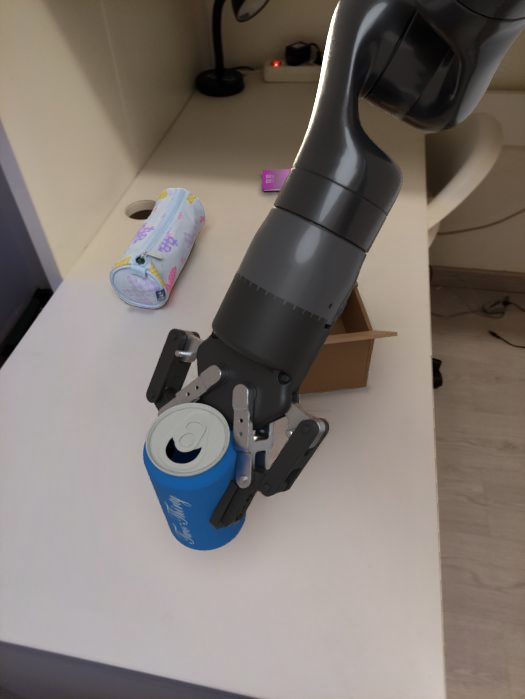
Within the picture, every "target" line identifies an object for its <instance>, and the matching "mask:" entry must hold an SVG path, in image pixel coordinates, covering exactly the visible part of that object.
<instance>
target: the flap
mask: <svg viewBox="0 0 525 699" xmlns="http://www.w3.org/2000/svg"><path fill="white" fill-rule="evenodd" d="M398 336H399V335H398V331H391V330H390V331H389V330H378V329H373V331H364V332H355V333H347V334H338V335H330V336H328V337H327V339H326V341H325V343H324V344H333V343H341V342H350V341H359V340H367V339H374V340H375V339H382V338H390V337H391V338H393V337H398Z"/></svg>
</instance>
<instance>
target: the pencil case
mask: <svg viewBox="0 0 525 699" xmlns="http://www.w3.org/2000/svg"><path fill="white" fill-rule="evenodd" d="M205 222H206V211H205V208H204V205H203V203H202V201H201V199H199V198H198V197H197V196H196V195H194V194H193V193H192V191H190V190H188V189H185V188H182V187H169V188H166V189H164V190H163V191H162V192H161V193H159V195H158V196H157V198H156V201H155V203H154V207H153V209H152V211H151V212H150V214H149V216H148V217H147V219H146V220H145V221H144V222H143V224H142V225H141V226H140V228H139V229H138V231H137V232H136V233H135V235H134V236H133V238H132V240H131V241H130V243H129V244H128V247H127V248H126V250H125V251H124V253H123V254H122V256H121V257H120V259H119V260H118V262H116V263H115V264H114V265H113V266H112V267H111V269H110V271H109V281H110V285H111V287H112V289H113V291H114V292H115V294H116V295H117V297H119V298H120V299H121V300H122V301H123V302H124V303H126V304H128V305H130V306H133V307H138V308H144V309H152V310H153V309H154V310H155V309H159V308H161V307H163V306H164V305H165V304H166V302H167V301H168V300H169V298H170V295H171V291H172V289H173V287H174V285H175V283H176V281H177V279H178V278H179V276H180V274H181V273H182V270H183V269H184V267H185V265H186V263H187V261H188V258H189V256H190V254H191V252H192V249H193V246H194V244H195V241H196V239H197V237H198V236H199V234H200V232H201V230H202V228H203V227H204V225H205Z"/></svg>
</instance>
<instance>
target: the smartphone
mask: <svg viewBox="0 0 525 699" xmlns="http://www.w3.org/2000/svg"><path fill="white" fill-rule="evenodd" d="M290 170H291V168H286V169H285V168H284V169H262V174H261V175H262V176H261V177H262V178H261V179H262V180H261V190H262V192H265V193H266V192H280V190H281V188H282V186H283V184H284V182H285V180H286V178H287V176H288V174H289V172H290Z"/></svg>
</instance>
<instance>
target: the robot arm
mask: <svg viewBox="0 0 525 699" xmlns="http://www.w3.org/2000/svg"><path fill="white" fill-rule="evenodd" d="M524 30H525V0H338V2H337V4H336V6H335V9H334V11H333V15H332V17H331V20H330V24H329V29H328V33H327V36H326V41H325V42H326V43H325V48H324V53H323V59H322V64H321V70H320V76H319V81H318V86H317V90H316V97H315V100H314V104H313V107H312V113H311V115H310V119H309V122H308V126H307V129H306V132H305V134H304V137H303V140H302V143H301V145H300V148H299V150H298V152H297V154H296V157H295V159H294V161H293V164H292V166H291V168H290V169H291V170H290V172H289V174H288V176H287V178H286V180H285V182H284V184H283V186H282V188H281V190H280V191H278V194H277V197H276V198H275V201H274V203H273V206H272V207H271V208H270V211H269V212H268V214H267V215H266V217H265V219H264V220H263V222H262V223H261V225H260V226H259V227H258V229H257V231H256V232H255V233H254V236H253V237H252V240H251V241H250V243H249V245H248V248H247V249H246V252H245V254H244V256H243V258H242V260H241V262H240V264H239V267H238V268H237V269H236V270H237V271H236V272H235V275H234V277H233V278H232V281H231V283H230V285H229V286H228V289H227V291H226V293H225V295H224V297H223V299H222V301H221V303H220V305H219V308H218V310H217V312H216V313H215V316H214V318H213V320H212V323H211V329H212V331H211V333H210V335H208V337H206V339H203V338H201V335H200V334H199V332H198V331H192V330H187V329H181V328H172V329H170V330H169V331H168V334H167V337H166V340H165V342H164V344H163V347H162V350H161V352H160V355H159V358H158V360H157V362H156V366H155V367H154V371H153V374H152V376H151V379H150V381H149V384H148V386H147V389H146V392H145V398H146V401H147V402H148V403H150V404H154V406H155V408H156V410H157V417H158V416H159V415H160V414H162V413H163V412H164V411H166V410H168V409H169V408H171V407H174V406H176V405H180V404H184V403H201V404H205V405H208V406H211V407H213V408H215V409H216V410H217V411H219V412H220V413H221V414H222V415H223V417H224V418H225V419H226V421H227V423H228V426H229V428H230V429H231V430H232V431H233V450H234V451H235V452H236V453H237V456H236V476H235V479H234V480H231V481H230V483H229V485H228V487H227V489H226V491H225V493H224V494H223V496H222V497H221V499H220V501H219V503H218V505H217V507H216V509H215V510H214V512H213V514H212V516H211V518H210V520H209V523H210V524H211V525H212V526H213V527H214V528H215V529H216V530H218V529H221V528H223V527H228V526H231V525H233V524H236V523H238V522H239V521H240V520H242V519H243V517H244V515H245V512H246V513H247V511H248V509H249V507H250V506H251V504H252V503H253V502H252V501H253V500H254V498H255V496H256V494H257V492H259V493H260V494H261V495H262V496H264V497H267V498H270V497H273V496H275V495H276V494H279V493H284V492H287V491H289V490H290V489H291V488H292V487H293V485H294V483H296V481H297V479H298V478H299V477H300V475H301V473H302V472H303V471H304V469H305V468H306V466H307V464H308V463H309V462H310V460H311V459H312V457H313V456H314V455H315V453H316V451H317V450H318V448H319V447H320V446H321V444H322V442H323V441H324V439H325V438H326V436H327V435H328V434H329V432H330V429H331V426H330V423H329V421H328V420H327V419H326V418H323V417H316V416H315V415H313V414H312V413H311V412H309V411H308V410H307V409H306V408H304V407H303V406H302V405H301V404H300V403H299V401H300V395H299V390H300V386H301V384H302V382H303V380H304V379H305V377H306V376H307V374H308V373H309V371H310V369H311V367H312V365H313V364H314V362H315V360H316V358H317V356H318V354H319V352H320V350H321V348H322V347H323V345H324V343H325V341H326V339H327V337H328V335H329V333H330V332H331V330H332V328H333V326H334V324H335V322H336V320H337V318H338V317H339V316H340V315H341V314H342V312H343V311H344V309H345V307H346V304H347V300H348V298H349V296H350V294H351V292H352V290H353V288H354V286H355V283H356V281H357V282H358V278H359V275H360V273H361V269H362V267H363V265H364V263H365V260H366V258H367V254H368V253H369V252H370V250H371V248H372V246H373V245H374V243H375V241H376V238H377V237H378V235H379V233H380V231H381V229H382V228H383V225H384V223H385V222H386V220H387V217H388V216H389V214H390V212H391V211H392V209H393V207H394V206H395V203H396V201H397V199H398V197H399V195H400V192H401V189H402V187H403V182H404V176H403V172H402V170H401V167H400V166H399V164H398V163H397V162H396V161H395V160H394V159H393V157H391V156H390V154H388V153H387V152H386V151H385V149H383V148H382V147H381V146H380V145H378V143H377V142H376V141H375V140H373V139H372V137H371V136H369V134H368V132H367V131H366V129H365V128H364V126H363V124H362V121H361V118H360V110H359V100H362V101H363V102H364V103H366V104H368V105H370V106H371V107H373V108H375V109H377V110H379V111H381V112H382V113H384V114H386V115H387V116H390V117H391V118H393V119H394V120H397V121H398V122H400V123H402V124H403V125H405V126H406V127H409V128H411V129H412V130H415V131H418V132H420V133H424V134H439V133H444V132H447V131H451V130H453V129H454V128H457V127H459V125H461V124H462V123H464V122H465V121H466V120H467V119H468V118H469V117H470V116H471V114H472V113H473V112H474V111H475V110H476V108H477V106H478V105H479V103H480V102H481V101H482V99H483V97H484V95H485V94H486V92H487V90H488V88H489V87H490V84H491V82H492V80H493V79H494V77H495V74H496V72H497V70H498V68H499V67H500V65H501V63H502V61H503V59H504V57H505V56H506V54H507V53H508V51H509V50H510V48H511V47H512V45H513V44H514V43H515V41H516V40H517V39H518V38H519V36H520V35H521V33H522V32H523V31H524ZM195 361H196V366H197V367H196V369H197V377H195V379H193V380H192V381H191V382H189V383H188V384H187V385H185V386H184V384H185V381H186V380H187V376H188V373H189V371H190V368H191V365H192V363H194V362H195ZM285 417H286V418H287V421H288V422H287V426H286V429H285V436H286V438H287V441H286V442H285V444H284V445H283V446H282V449H281V450H280V451H279V453H278V454H277V456H276V457H275V459H274V460H273V462H272V464H271V465H270V453H271V450H272V448H273V446H274V426H275V422H277V421H279V420H281V419H283V418H285ZM253 432H254V434H253ZM174 452H175V450H174V446H173V443H172V440H171V439H170V441H169V442H168V444H167V446H166V455H167V457H168V458H169V459H170V460H171V458H172V456H173V454H174Z"/></svg>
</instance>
